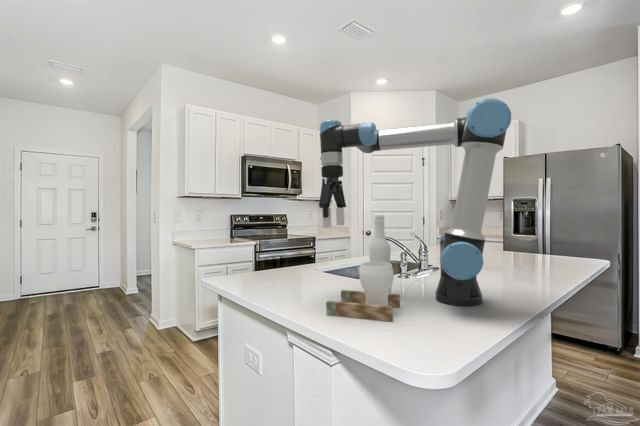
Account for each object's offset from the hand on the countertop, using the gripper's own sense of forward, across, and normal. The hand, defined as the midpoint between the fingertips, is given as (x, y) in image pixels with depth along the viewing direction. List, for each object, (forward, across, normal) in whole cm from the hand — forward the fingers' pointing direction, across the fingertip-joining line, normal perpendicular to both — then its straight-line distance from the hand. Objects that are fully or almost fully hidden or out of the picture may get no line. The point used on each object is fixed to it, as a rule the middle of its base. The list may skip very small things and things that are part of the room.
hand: (334, 226), depth 119 cm
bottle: (+27, -13, +12) cm, 33 cm away
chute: (+27, +7, +12) cm, 30 cm away
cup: (+27, +7, +16) cm, 32 cm away
